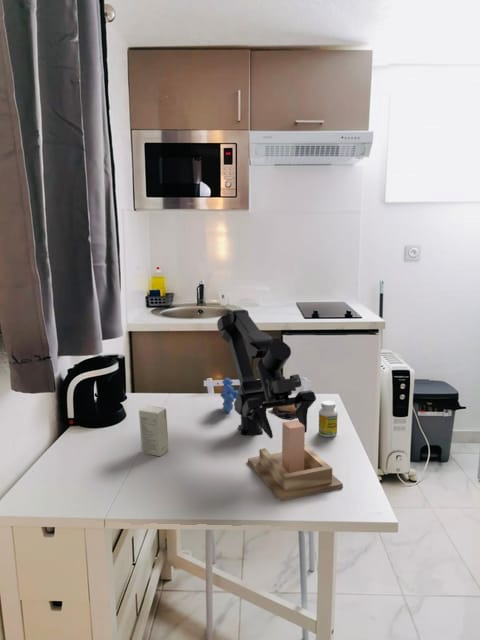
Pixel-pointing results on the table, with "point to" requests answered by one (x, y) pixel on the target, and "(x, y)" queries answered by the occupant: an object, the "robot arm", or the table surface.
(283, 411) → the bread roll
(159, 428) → the skincare box
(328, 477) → the rack
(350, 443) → the table surface
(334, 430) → the supplement bottle
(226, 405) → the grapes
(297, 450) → the clay block
